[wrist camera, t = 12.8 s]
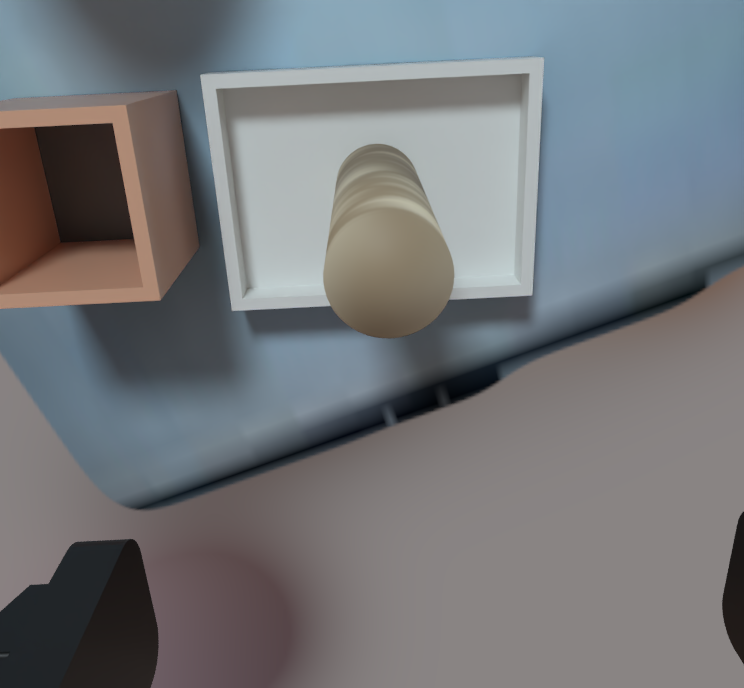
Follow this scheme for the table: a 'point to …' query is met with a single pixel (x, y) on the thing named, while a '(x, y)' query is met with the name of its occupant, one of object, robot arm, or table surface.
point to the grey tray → (364, 127)
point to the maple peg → (385, 247)
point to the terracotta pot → (143, 192)
